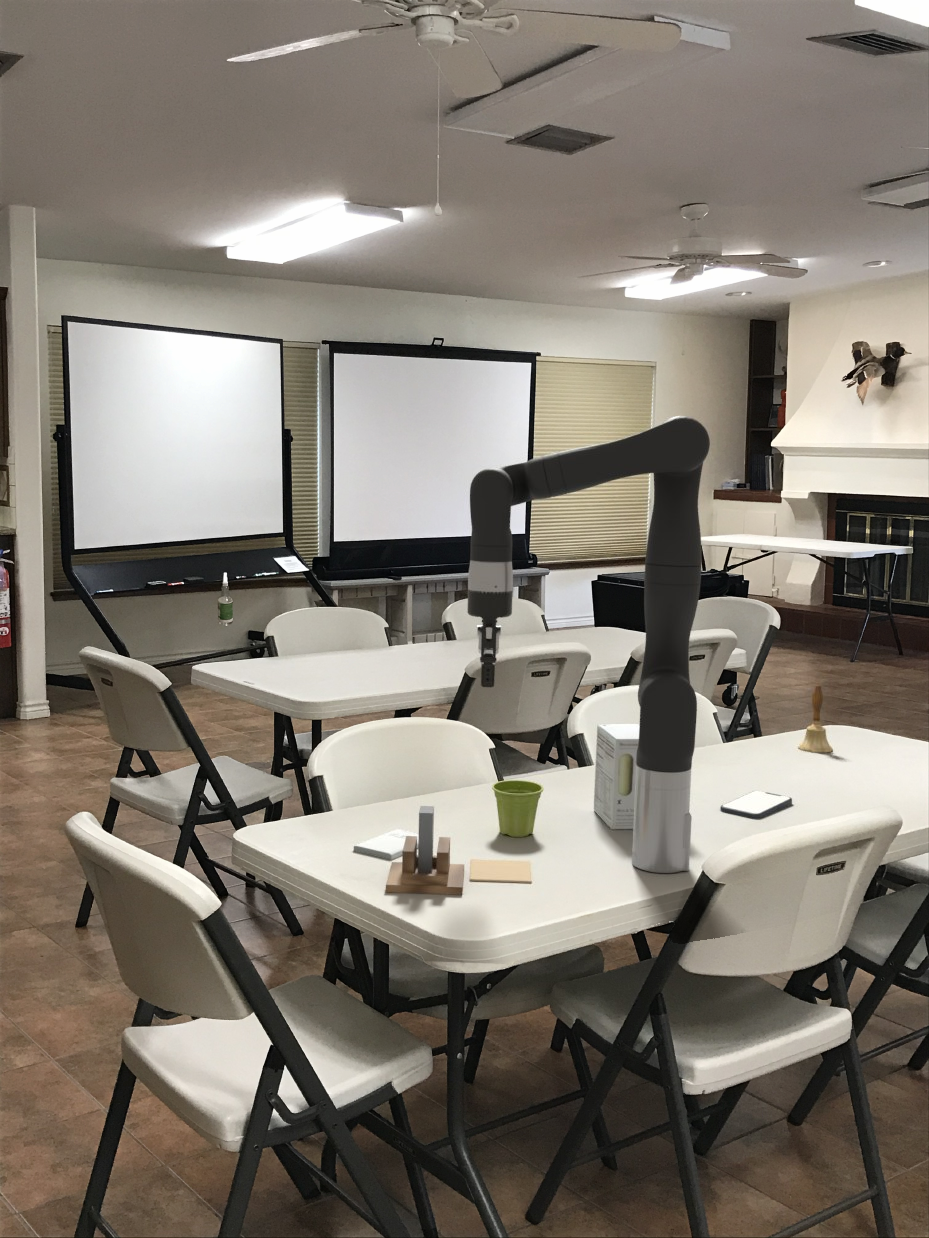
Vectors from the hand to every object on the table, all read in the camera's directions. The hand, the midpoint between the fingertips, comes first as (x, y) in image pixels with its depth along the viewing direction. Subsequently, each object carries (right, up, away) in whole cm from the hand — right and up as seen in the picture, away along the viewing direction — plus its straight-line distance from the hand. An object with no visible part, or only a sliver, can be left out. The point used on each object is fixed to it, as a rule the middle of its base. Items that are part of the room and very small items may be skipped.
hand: (487, 682), depth 203 cm
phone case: (+55, -28, +38) cm, 72 cm away
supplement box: (+29, -28, +27) cm, 48 cm away
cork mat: (+2, -31, -5) cm, 32 cm away
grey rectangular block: (-10, -30, -11) cm, 34 cm away
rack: (-10, -31, -11) cm, 35 cm away
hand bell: (+83, -22, +91) cm, 125 cm away
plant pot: (+6, -29, +16) cm, 34 cm away
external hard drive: (-16, -30, +7) cm, 35 cm away
